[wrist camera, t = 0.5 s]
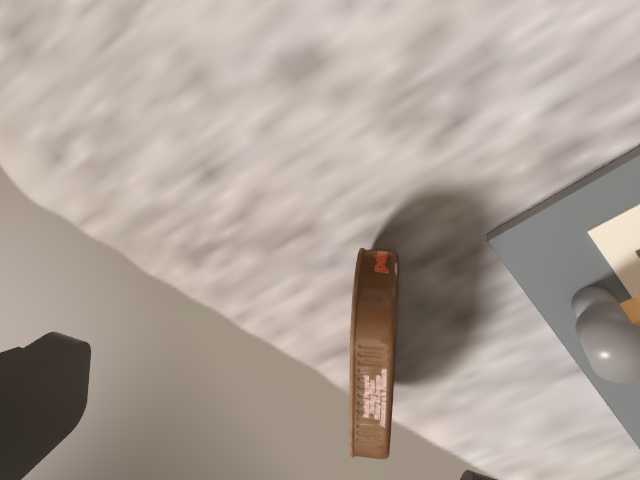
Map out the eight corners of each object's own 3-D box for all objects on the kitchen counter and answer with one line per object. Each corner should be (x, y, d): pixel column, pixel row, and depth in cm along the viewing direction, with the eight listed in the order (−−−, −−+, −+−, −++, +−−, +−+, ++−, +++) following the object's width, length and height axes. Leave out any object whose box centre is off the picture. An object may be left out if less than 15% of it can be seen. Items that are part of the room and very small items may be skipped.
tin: (363, 228, 32) (339, 285, 25) (409, 232, 32) (398, 291, 24) (360, 396, 38) (339, 483, 31) (398, 402, 38) (386, 493, 30)
